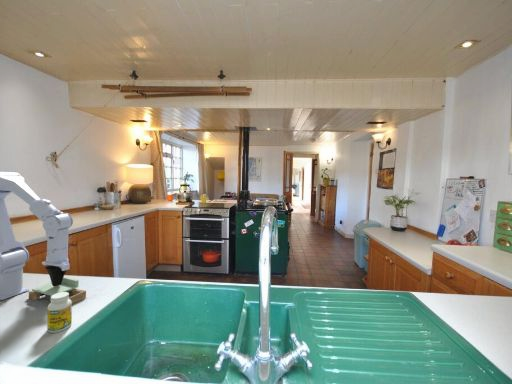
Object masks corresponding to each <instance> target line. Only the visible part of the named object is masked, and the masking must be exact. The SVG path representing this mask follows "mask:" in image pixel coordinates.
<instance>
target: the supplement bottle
mask: <svg viewBox="0 0 512 384" xmlns="http://www.w3.org/2000/svg"><path fill="white" fill-rule="evenodd" d="M68 298H69V293H68V292H60V293H56V294H54V295H52V296H51V299H50V303H49V304H48V306H47V311H46V312H47V317H46V318H47V319H46V321H47V322H46V323H47V324H46V326H47V327H46V329H47V332H48V333H52V334H55V333H60V332H64V331H65V330H68V329H69V328H70V327H71V325H72V317H73V316H72V315H73V313H72V312H73V310H72V309H73V304H72V301H71V300H70V299H68Z"/></svg>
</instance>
